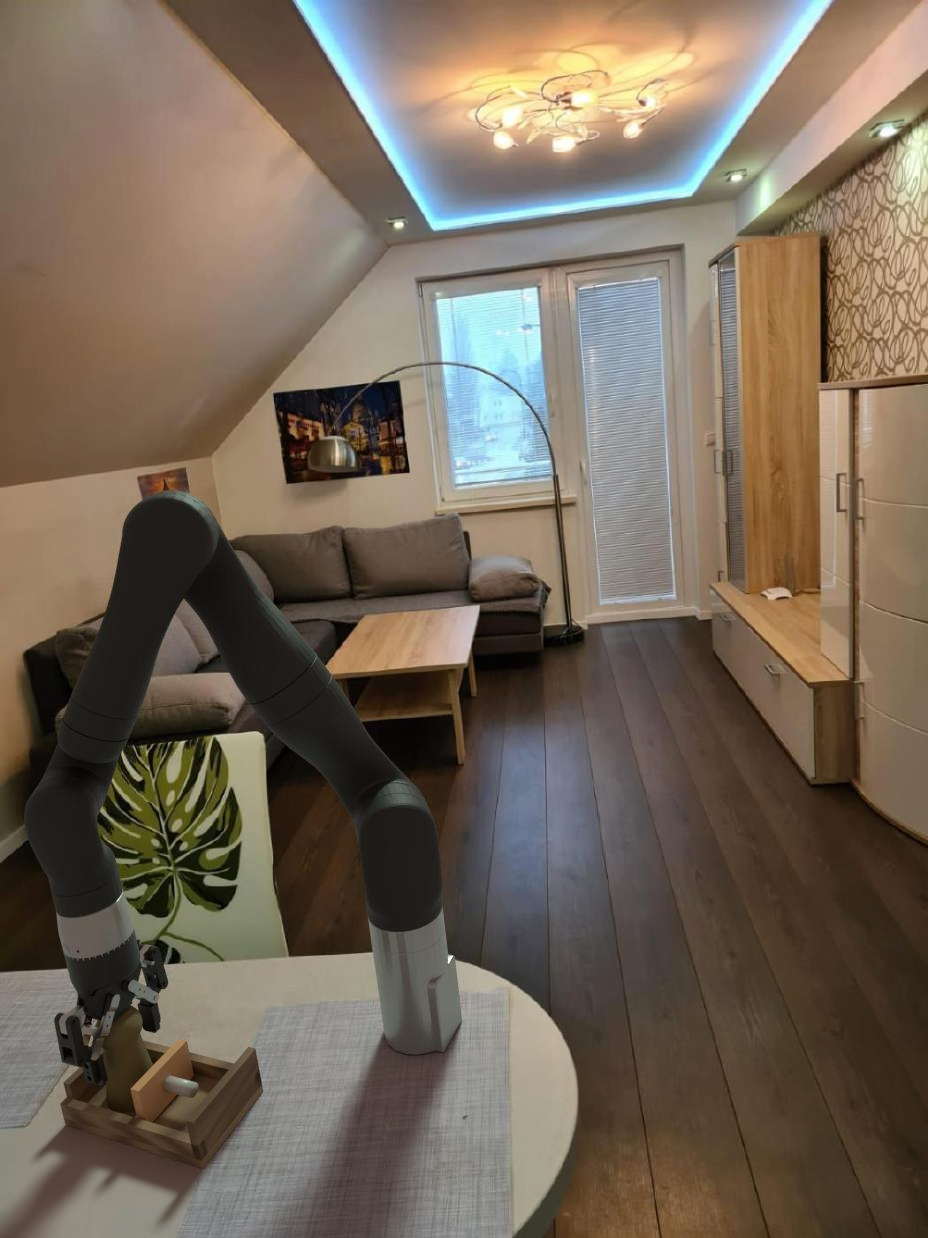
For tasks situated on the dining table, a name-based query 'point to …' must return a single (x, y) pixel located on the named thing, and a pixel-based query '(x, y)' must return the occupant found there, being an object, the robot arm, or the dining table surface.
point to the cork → (124, 1059)
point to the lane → (173, 1109)
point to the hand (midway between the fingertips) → (126, 1055)
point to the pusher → (164, 1082)
